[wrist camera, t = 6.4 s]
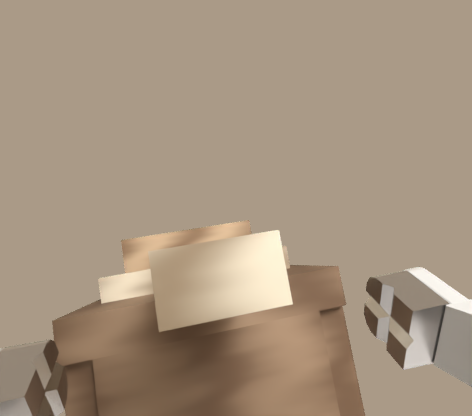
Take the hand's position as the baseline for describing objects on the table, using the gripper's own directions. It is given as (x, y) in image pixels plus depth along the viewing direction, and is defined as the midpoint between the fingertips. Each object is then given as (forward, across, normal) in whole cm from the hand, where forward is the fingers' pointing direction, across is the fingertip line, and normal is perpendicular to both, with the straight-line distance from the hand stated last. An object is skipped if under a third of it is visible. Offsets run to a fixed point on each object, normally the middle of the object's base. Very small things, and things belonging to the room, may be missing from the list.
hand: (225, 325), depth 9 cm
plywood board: (+12, 0, +7) cm, 14 cm away
